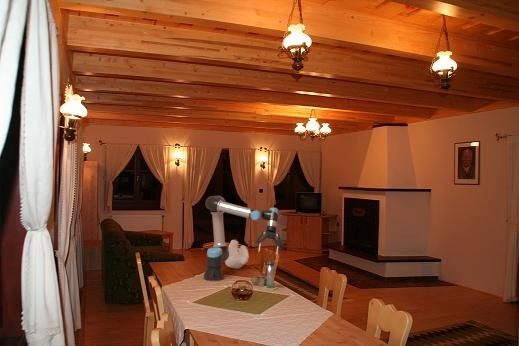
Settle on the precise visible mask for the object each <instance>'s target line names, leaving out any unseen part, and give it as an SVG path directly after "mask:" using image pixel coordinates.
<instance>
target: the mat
mask: <svg viewBox="0 0 519 346" xmlns="http://www.w3.org/2000/svg"><path fill="white" fill-rule="evenodd" d="M260 289H261V290H266V291H276V290H278V289H280V286H275V285H274V288H266V286H264V287H262V286H260Z"/></svg>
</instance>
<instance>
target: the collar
mask: <svg viewBox="0 0 519 346" xmlns="http://www.w3.org/2000/svg"><path fill="white" fill-rule="evenodd" d="M250 280H251V281H250V284H251V283H252V285H251V286H256V287H257V286H258V287H264V286H266V282H267V276H264V275H263V276H262V275H256V276H253V277H251V278H250Z"/></svg>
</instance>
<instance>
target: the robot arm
mask: <svg viewBox="0 0 519 346" xmlns="http://www.w3.org/2000/svg"><path fill="white" fill-rule="evenodd" d="M205 207H206V209H208V210H209V211H210V214H211V215H212V229H213V242H214V243H213V246H212V247H210V248H208V249H207V251H206V252H207V253H206V269H205V272H204V274H203V279H204V280H205V281H211V282H212V281H213V282H214V281H215V282H216V281H222V280H224V274H223V269H222V263H224V262H225V261H226V260H227V259H228V258H229V250H228V249H229V248H228V244H226V242H225V241H226V238H225V226H224V213H227V214H231V215H235V216H238V217H242V218H246V219H251V220H252V221H255V222H258V221H261V220H264V221H267V223H266V229H265V231H264V230H262V231H261V234H260V235H259V237H258V238H257V239H256V241H255V243H256V244H257V249H258V253H260V251H261V244H262V242H264V241H265V240H266V239H271V240H273V241H274V242H275V244H276V245H277V247H276V254H275V256H278V252H280V248H282V247H283V242H282V240H281V237H280V233H277V226H278V219H279V209H278V208H277V207H270V208H269V210H265V209H264V210H263V209H254V208H253V209H252V208H249V207H245V206H241V205H237V204H234V203H231V202H227V201H226V200H225V198H224V197H222V196H221V195H211V196H208V197H207V198H206V200H205ZM264 235H265V236H264ZM263 236H264V237H263ZM276 238H277V239H276Z"/></svg>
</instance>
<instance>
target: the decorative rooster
mask: <svg viewBox="0 0 519 346" xmlns="http://www.w3.org/2000/svg"><path fill="white" fill-rule="evenodd" d="M227 249H228V250H229V258H228V259H227V260H226V261H225V265H226V266H227V267H228V268H231V269H235V270H236V269H240V268H242V267H243V266H244V265H246V263H247V262H248V261H249V257H250V254H249V250H248V248H247V247H246V246H245V245H241V246H240V247H239V241H237V239H232V240H231V241H230V243H229V244H228V248H227Z"/></svg>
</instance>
